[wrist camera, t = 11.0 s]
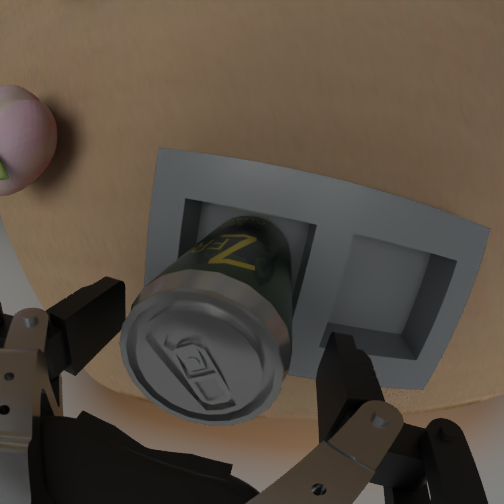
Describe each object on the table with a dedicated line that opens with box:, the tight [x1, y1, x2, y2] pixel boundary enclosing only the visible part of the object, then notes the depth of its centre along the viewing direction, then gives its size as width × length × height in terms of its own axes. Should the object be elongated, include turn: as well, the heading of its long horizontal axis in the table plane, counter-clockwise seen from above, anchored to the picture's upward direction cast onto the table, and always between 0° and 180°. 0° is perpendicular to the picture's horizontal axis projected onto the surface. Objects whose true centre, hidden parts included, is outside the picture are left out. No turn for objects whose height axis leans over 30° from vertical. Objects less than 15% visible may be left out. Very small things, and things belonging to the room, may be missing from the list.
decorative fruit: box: [0, 85, 57, 196], centre depth 15 cm, size 9×8×10 cm
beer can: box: [119, 216, 292, 426], centre depth 13 cm, size 5×5×12 cm
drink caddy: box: [144, 148, 490, 390], centre depth 18 cm, size 20×12×4 cm, turn 79°
